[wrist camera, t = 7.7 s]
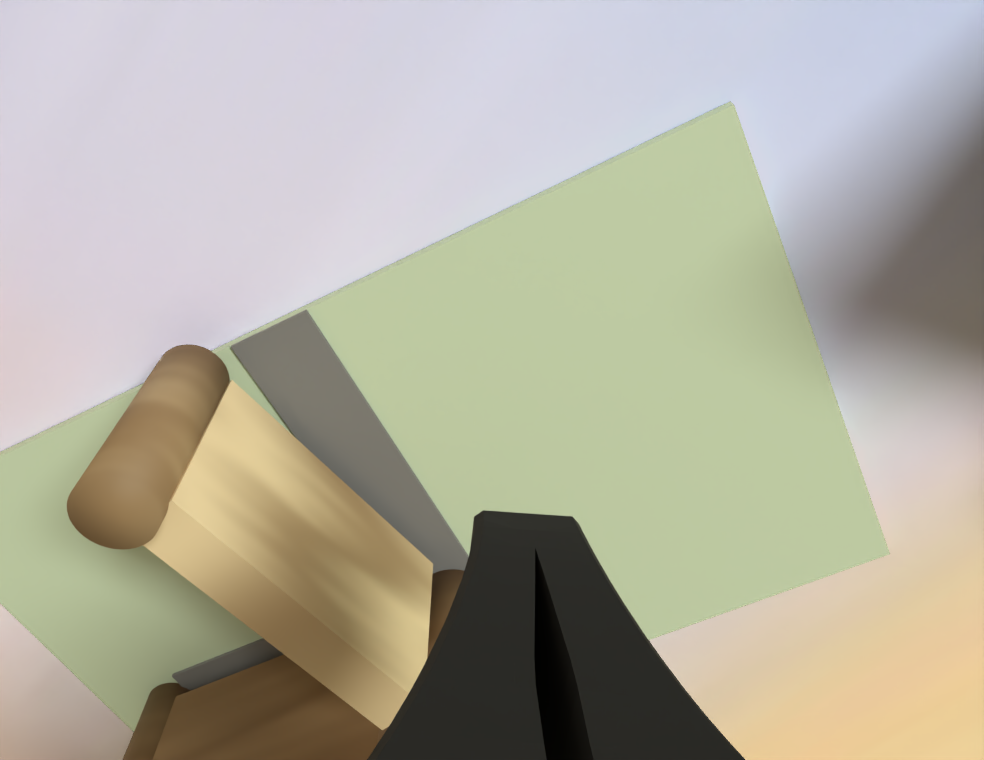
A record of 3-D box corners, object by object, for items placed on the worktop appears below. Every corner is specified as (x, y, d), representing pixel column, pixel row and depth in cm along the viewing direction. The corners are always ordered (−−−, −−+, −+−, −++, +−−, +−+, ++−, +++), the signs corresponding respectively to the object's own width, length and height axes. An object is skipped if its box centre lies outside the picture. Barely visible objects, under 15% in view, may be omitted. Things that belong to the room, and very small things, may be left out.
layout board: (-95, 497, 22) (-105, 507, 22) (730, 101, 18) (735, 105, 17) (205, 790, 28) (202, 801, 28) (885, 546, 24) (891, 556, 23)
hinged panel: (439, 559, 22) (430, 721, 18) (392, 589, 23) (373, 754, 19) (191, 331, 19) (107, 460, 15) (142, 371, 20) (47, 509, 15)
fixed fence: (136, 681, 26) (52, 876, 20) (469, 549, 23) (467, 732, 18) (177, 722, 26) (107, 919, 21) (501, 599, 24) (508, 786, 19)
